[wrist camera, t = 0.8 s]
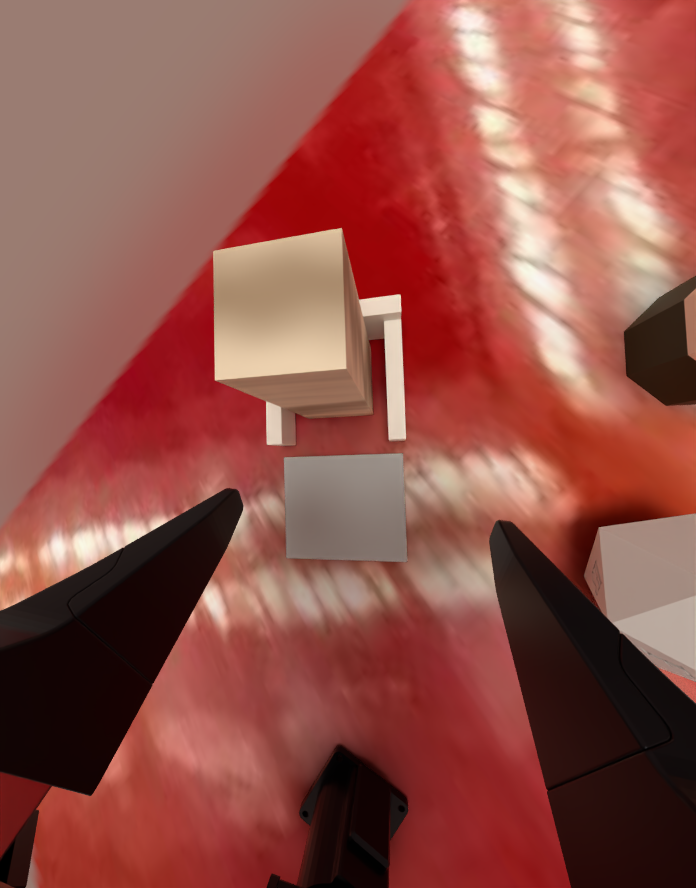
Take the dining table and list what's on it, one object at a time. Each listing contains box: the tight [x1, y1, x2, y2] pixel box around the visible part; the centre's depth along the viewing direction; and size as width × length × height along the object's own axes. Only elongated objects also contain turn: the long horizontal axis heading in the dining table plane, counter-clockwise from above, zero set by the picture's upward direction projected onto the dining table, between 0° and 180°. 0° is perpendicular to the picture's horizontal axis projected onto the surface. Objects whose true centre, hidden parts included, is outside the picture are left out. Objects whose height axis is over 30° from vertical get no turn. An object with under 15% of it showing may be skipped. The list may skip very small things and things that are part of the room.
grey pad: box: [284, 453, 407, 562], centre depth 23 cm, size 8×10×1 cm
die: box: [584, 514, 696, 682], centre depth 15 cm, size 8×9×10 cm
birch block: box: [213, 228, 373, 419], centre depth 17 cm, size 6×6×12 cm
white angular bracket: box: [266, 295, 406, 446], centre depth 21 cm, size 10×10×4 cm
